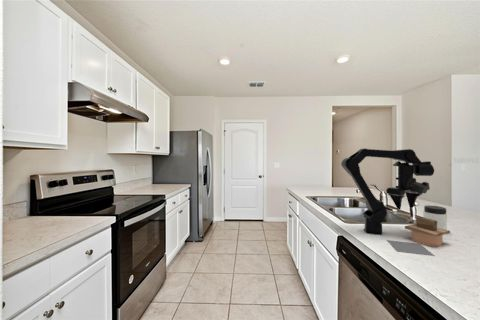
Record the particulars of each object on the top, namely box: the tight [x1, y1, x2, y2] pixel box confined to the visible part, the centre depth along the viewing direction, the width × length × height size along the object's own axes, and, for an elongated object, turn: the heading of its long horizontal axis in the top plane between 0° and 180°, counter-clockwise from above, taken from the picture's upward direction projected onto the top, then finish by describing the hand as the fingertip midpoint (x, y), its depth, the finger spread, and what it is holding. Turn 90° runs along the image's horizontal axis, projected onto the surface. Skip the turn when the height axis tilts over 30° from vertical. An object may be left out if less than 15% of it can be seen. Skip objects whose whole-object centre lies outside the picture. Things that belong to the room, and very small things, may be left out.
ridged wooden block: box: [404, 216, 451, 237], centre depth 92 cm, size 11×11×5 cm
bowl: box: [410, 230, 444, 247], centre depth 93 cm, size 10×10×5 cm
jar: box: [422, 205, 448, 230], centre depth 106 cm, size 9×8×12 cm
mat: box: [386, 239, 436, 257], centre depth 86 cm, size 12×12×1 cm
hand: (405, 208), depth 102 cm, fingers open, 9 cm apart
